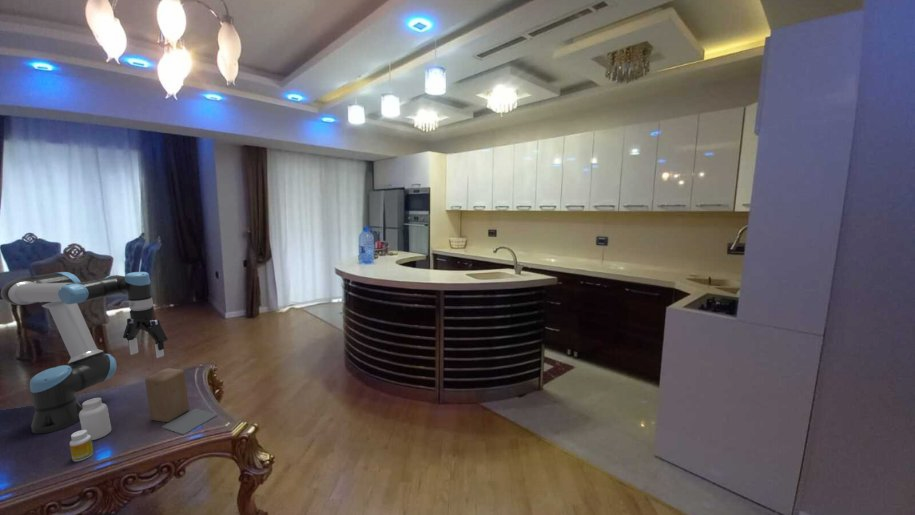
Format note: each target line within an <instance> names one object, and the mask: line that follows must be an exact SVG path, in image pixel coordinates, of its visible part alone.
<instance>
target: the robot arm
mask: <svg viewBox="0 0 915 515" xmlns="http://www.w3.org/2000/svg"><path fill="white" fill-rule="evenodd" d="M150 278H151V277H150V274H149V272H146V271H134V272H133V271H132V272H129V273H126V274H125V275H118V274H115V275H108V276H105V277H103V278H99V279H94V280H89V281H83V282H82V281H81V280H80V279H79V278H78V276H76V274H73V273H71V272H68V271H60V272H59V271H58V272H51V273H45V274H40V275H38V274H37V275H33V276H32V275H31V276H25V277H20V278H19V277H18V278H16V279H13V280H11V281H9V282H7V283H6V284H5V285H3V287H2V288H1V289H0V297H1V298H2V300H4V302H6V303H7V304H10V305H17V306H21V305H24V306H25V305H31V304H37V303H40V304H41V307H42V308H45V309H48V310H49V312H50V314H51V316H52V320H53V322H54V323H55V326H56V328H57V330H58V332H59V334H60V336H61V339H62V342H63V343H64V345H65V348H66V350H67V352H68V354H69V356H70V359H69V361H67V365H65V364H64V365H58V366H55V367H51V368H48V369H45V370H42V371H41V372H39V373H37V374H35V375H34V376H33V377H32V378H31V379H30V381H29V392H31V393H30V394H31V396H32V397H31V398H32V401H33V402H32V403H33V408H34V415H33V419H32V422H31V432H32V433H33V434H37V435H38V434H47V433H52V432H56V431H60V430H63V429H65V428H67V427H71V426H72V425H74V424H77V423H79V422H80V418H79V413H80V411H81V410H82V409H83V406H82V404H81V403H80V402H79V401H78V400H77V396H76V394H77V393H78V392H80V391H82V390H86V389H87V388H90V387H93V386H95V385H98V384H100V383H103V382H105V381H106V380H109V379H110V378H112V377H113V376H114V375H115V374H116V371H117V367H118V366H117V360H116V358H115V357H114V356H112V355H113V354H110V353H105V352H104V350H101V349H98V346H97V345H96V343H95V341H94V338H93V336H92V334H91V332H90V330H89V327H88V324H87V322H86V320H85V318H84V316H83V314H82V311H81V309H80V306H79V305H78V304H81V303H83V302H84V303H85V302H88V301H92V300H96V299H102V298H106V297H111V296H117V295H121V294H122V295H127V300H128V307H129V316H130V317H129V318H126V326H125V330H124V333H123V335H122V338H123V339H126V340H127V341H128V342H127V343H128V347H129V353H130V354H129V355H131V356H133V355H137V354H138V353H139V346H138V345H139V344H138V337H137V335H138V333H139V332H140V331H141V330H142V331H145V332H146V333H148V334H149V335H150V337H151V338H152V339H153V340H154V341H155V343H154V346H155V355H156V359H159V358H161V357H164V356H165V352H164V351H165V350H164V349H165V344H164V342H166V341H168V340H169V339H168V337H167V335H166V332H164V329H163V327H162V326H161V323H160V320H159V319H155V320H153V317H154V315H155V311H154V310H155V308H154V302H153V296H152V295H153V294H152V293H153V292H152V280H151V279H150Z"/></svg>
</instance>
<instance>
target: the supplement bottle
mask: <svg viewBox="0 0 915 515" xmlns="http://www.w3.org/2000/svg"><path fill="white" fill-rule="evenodd" d="M70 437H71V438H70V439H71V440H70V441H69V450H70V453H71V460H72V461H73V462H80V461H84V460H86V459H89V458H90V457H91V456H93V454H94V446H93V440H91V436H90V435H87V430H82V429H81V430H77V431H75V432H73V433H72V434H71V435H70Z"/></svg>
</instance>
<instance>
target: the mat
mask: <svg viewBox="0 0 915 515" xmlns="http://www.w3.org/2000/svg"><path fill="white" fill-rule="evenodd" d="M217 416H218V414H217V413H212V412H209V411H207V410H202V409H200V408H197V407H196V408H194V409H192V410H190V411H189V412H188V411H187V413H186V412H185V413H183V414H182V415H180V416H178V417H177V418H175V419H173V420H172V421H170V422H166V423H165V424H164V425H162V426H161V427H160V428H162V429H165V430H167V431H171V432H173V431H174V432H173V433H176V432H177V433H176V434H178V433H180V434H179V435H181V434H182V435H181V436H185V435H187V434H189V433H190V432H192V431H193V430H196V429H198V428H199V427H201V426H202V425H204V424H206V423H207V422H209V421H211V420H213V419H215V418H216V417H217ZM186 433H187V434H186ZM184 434H185V435H184Z"/></svg>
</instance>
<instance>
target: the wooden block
mask: <svg viewBox="0 0 915 515" xmlns="http://www.w3.org/2000/svg"><path fill="white" fill-rule="evenodd" d="M186 381H187V380H186V373H185V370H184V369H179V368H171V367H170V368H169V367H166V368H164V369H162V370H159V371H157V372H156V373H154V374H151V375H149V376H147V377H145V379H144V382H145V389H146V396H147V401H148V402H147V403H148V409H149V416H150V419H151V420H152V421H157V422H162V423H169V422H171V421H173V420H175V419H177V418H179V417H180V416H182V415H184V414H186V412H187V413H188V411H189V410H190V405H189V398H188V388H187V382H186Z"/></svg>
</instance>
